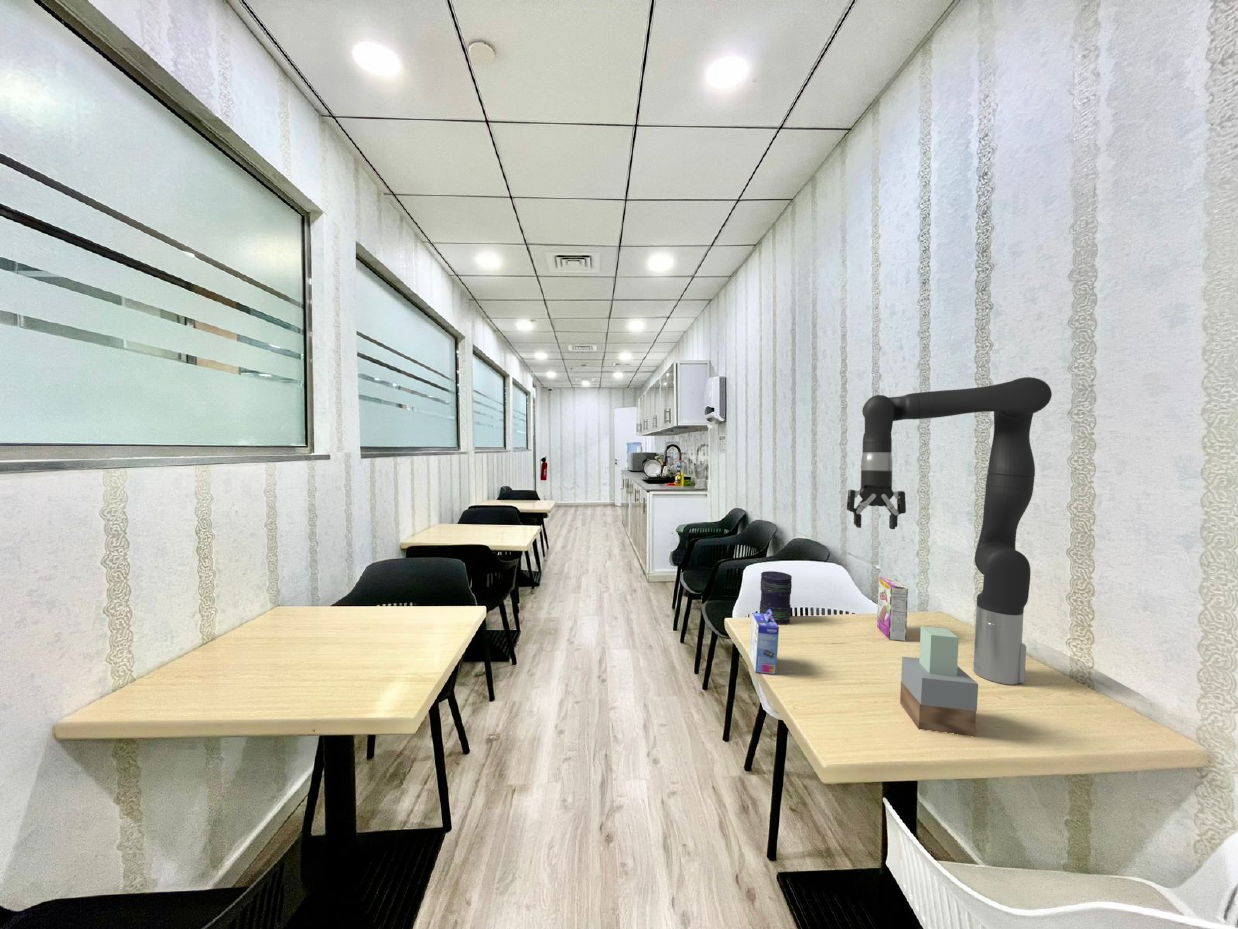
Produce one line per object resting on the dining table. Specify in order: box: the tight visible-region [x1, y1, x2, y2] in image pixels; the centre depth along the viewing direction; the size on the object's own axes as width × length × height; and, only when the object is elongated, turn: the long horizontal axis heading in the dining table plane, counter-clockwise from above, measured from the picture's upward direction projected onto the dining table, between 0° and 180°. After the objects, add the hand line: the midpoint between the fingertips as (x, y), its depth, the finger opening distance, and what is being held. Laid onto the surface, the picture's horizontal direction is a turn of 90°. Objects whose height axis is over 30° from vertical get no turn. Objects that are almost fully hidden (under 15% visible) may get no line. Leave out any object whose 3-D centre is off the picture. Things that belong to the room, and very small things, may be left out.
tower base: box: [899, 680, 977, 738], centre depth 98 cm, size 10×10×6 cm
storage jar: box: [759, 570, 793, 626], centre depth 155 cm, size 10×10×15 cm
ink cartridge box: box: [748, 609, 780, 675], centre depth 121 cm, size 10×6×14 cm, turn 174°
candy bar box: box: [876, 576, 909, 642], centre depth 145 cm, size 11×5×16 cm, turn 168°
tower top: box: [900, 656, 979, 712], centre depth 98 cm, size 10×10×6 cm
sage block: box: [918, 625, 960, 676], centre depth 98 cm, size 5×5×8 cm
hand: (875, 528), depth 128 cm, fingers open, 8 cm apart
